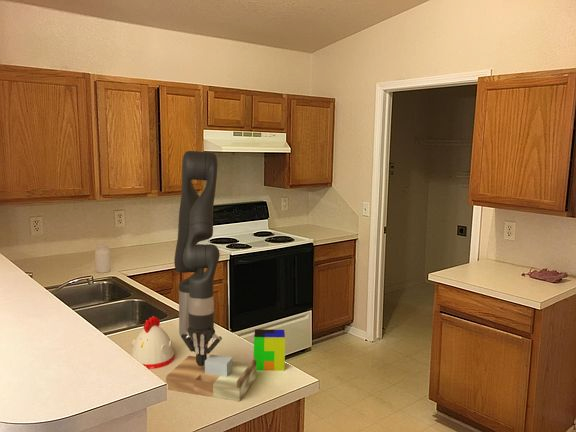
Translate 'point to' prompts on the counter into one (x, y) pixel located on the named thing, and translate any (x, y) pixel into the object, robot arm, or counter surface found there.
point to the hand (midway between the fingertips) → (201, 364)
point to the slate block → (218, 365)
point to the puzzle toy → (269, 349)
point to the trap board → (212, 380)
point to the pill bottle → (102, 259)
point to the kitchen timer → (153, 346)
